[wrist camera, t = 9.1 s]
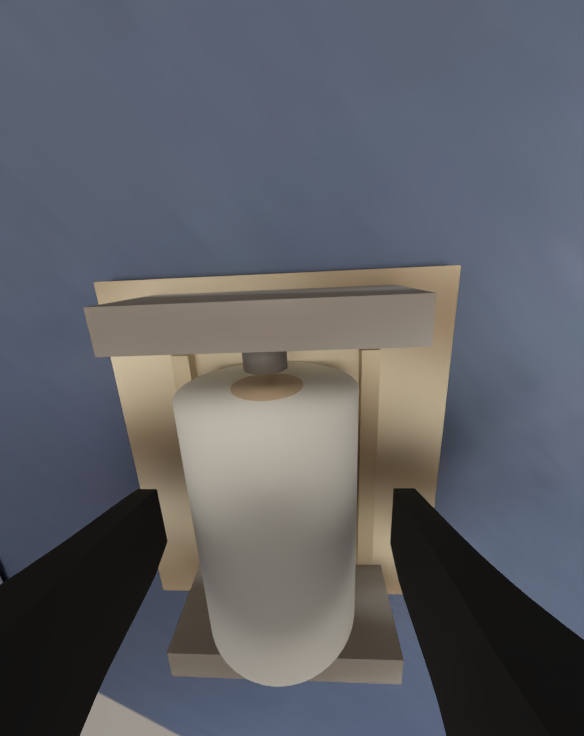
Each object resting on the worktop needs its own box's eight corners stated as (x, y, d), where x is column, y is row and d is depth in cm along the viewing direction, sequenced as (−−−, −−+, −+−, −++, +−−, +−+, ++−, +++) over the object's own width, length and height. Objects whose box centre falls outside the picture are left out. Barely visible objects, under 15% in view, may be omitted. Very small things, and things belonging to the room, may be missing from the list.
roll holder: (417, 573, 15) (460, 695, 11) (172, 570, 16) (121, 683, 12) (447, 265, 11) (538, 264, 7) (111, 281, 12) (-5, 289, 7)
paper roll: (345, 540, 13) (366, 690, 9) (229, 540, 14) (188, 685, 9) (346, 357, 11) (377, 426, 6) (205, 362, 11) (131, 430, 7)
